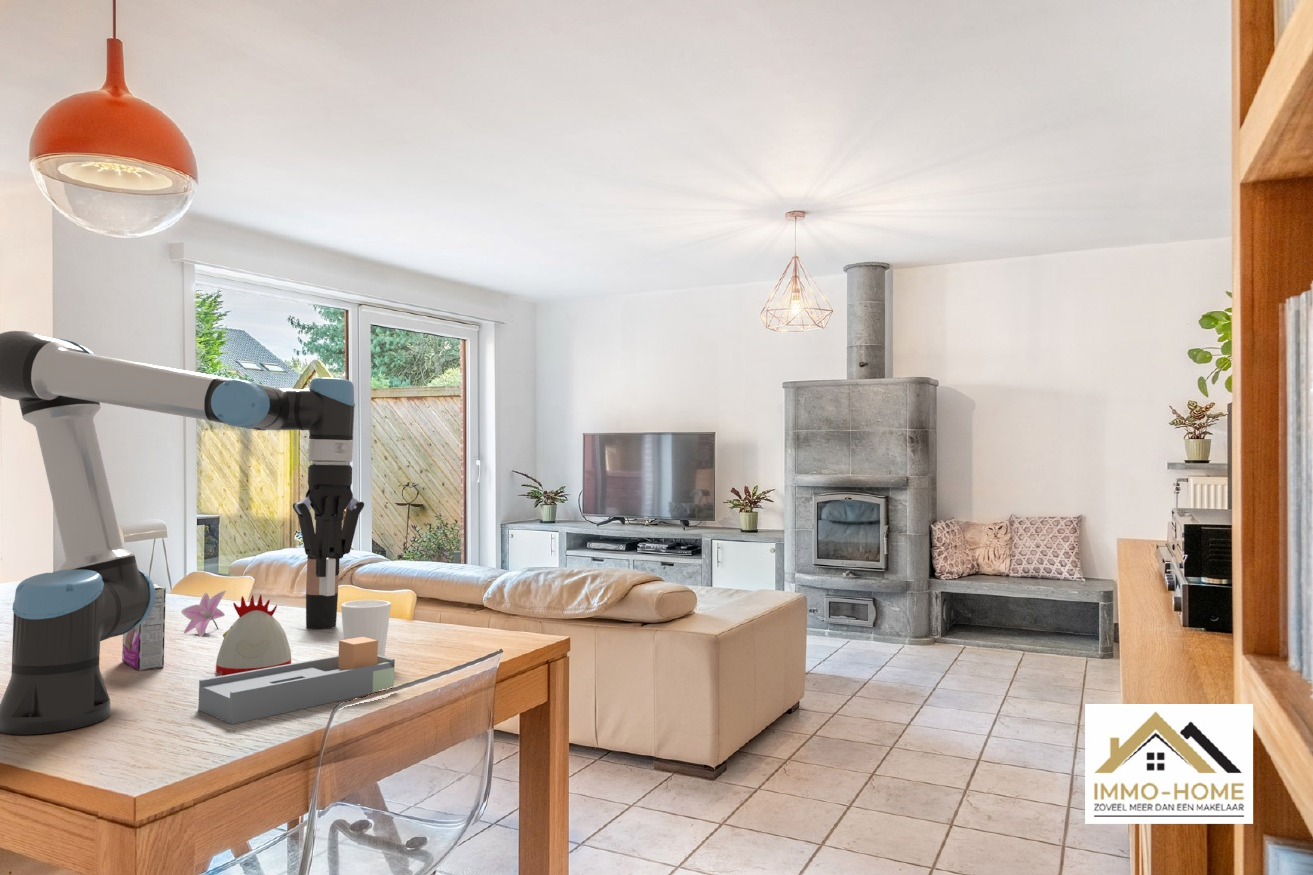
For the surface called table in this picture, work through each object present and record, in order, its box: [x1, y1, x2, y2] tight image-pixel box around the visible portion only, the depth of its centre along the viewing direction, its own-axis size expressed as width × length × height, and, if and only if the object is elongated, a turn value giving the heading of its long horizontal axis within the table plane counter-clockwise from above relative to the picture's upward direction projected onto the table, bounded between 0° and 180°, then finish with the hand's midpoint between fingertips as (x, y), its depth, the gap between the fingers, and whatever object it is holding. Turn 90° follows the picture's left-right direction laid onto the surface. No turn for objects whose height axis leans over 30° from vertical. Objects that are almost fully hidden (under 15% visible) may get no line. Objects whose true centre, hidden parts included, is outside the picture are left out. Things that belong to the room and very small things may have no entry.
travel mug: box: [305, 555, 339, 630], centre depth 220 cm, size 8×8×20 cm
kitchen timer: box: [215, 594, 292, 676], centre depth 175 cm, size 14×14×15 cm
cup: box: [340, 599, 392, 657], centre depth 180 cm, size 10×10×13 cm
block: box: [338, 637, 378, 670], centre depth 161 cm, size 5×5×5 cm
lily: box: [180, 590, 227, 637], centre depth 211 cm, size 12×12×10 cm
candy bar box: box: [121, 582, 167, 672], centre depth 177 cm, size 11×5×16 cm, turn 47°
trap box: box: [197, 655, 396, 725], centre depth 154 cm, size 30×12×6 cm, turn 141°
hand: (326, 594), depth 155 cm, fingers closed
